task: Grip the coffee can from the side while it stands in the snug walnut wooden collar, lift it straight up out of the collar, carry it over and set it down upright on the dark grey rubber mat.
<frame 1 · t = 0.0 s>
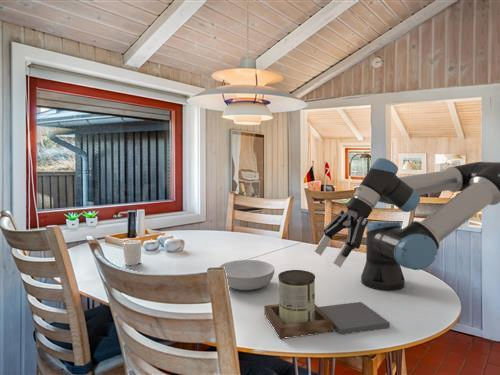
hand: (326, 258, 116), 15 cm above the table, tool tilted 35°, fingers open, 13 cm apart
serving bowl: (246, 286, 137), on the table
white cup: (133, 264, 168), on the table
walnut collar: (296, 323, 106), on the table
coffee can: (296, 323, 106), resting in walnut collar
rubber mat: (351, 319, 107), on the table
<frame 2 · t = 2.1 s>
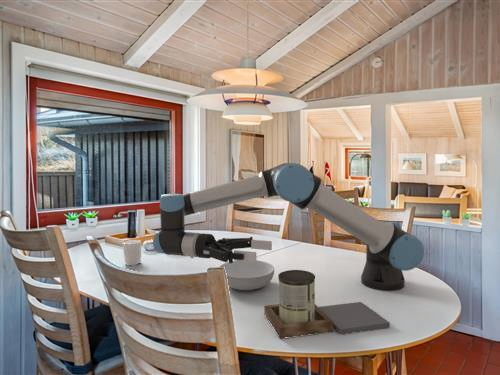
hand: (264, 251, 107), 20 cm above the table, tool horizontal, fingers open, 13 cm apart
nothing on the table moved.
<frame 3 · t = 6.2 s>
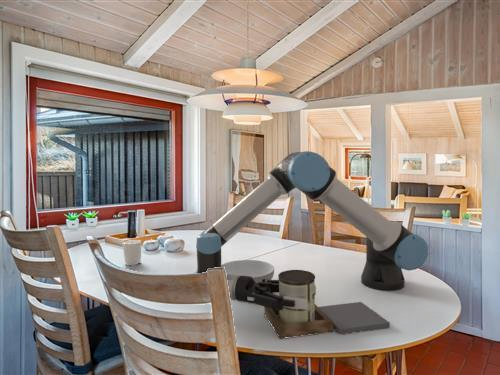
hand: (311, 297, 103), 8 cm above the table, tool horizontal, fingers closed on coffee can, 10 cm apart
coffee can: (296, 323, 106), resting in walnut collar, touching gripper
everything else where it was.
when the fingers open (11 cm above the table, at t = 12.5 s): coffee can drops 1 cm, resting on rubber mat.
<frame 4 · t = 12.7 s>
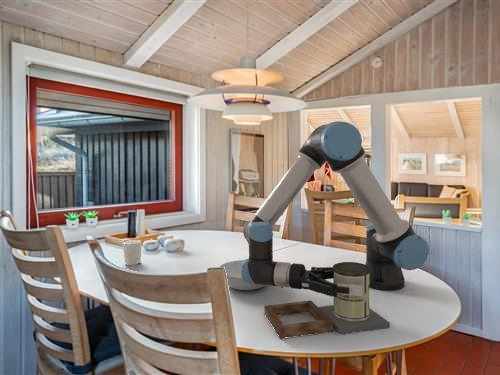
hand: (364, 283, 105), 11 cm above the table, tool horizontal, fingers open, 12 cm apart
coffee can: (351, 314, 108), point 1 cm above the table, touching rubber mat
everything else where it was.
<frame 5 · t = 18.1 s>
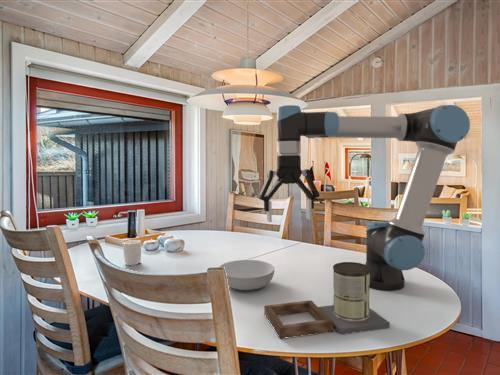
hand: (289, 220, 121), 27 cm above the table, tool pointing down, fingers open, 13 cm apart
nothing on the table moved.
at the end: coffee can inside the target area on the rubber mat (0.1 cm from its centre), point 1.3 cm above the rubber mat's base; coffee can tilted 0°; the gripper is holding nothing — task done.
